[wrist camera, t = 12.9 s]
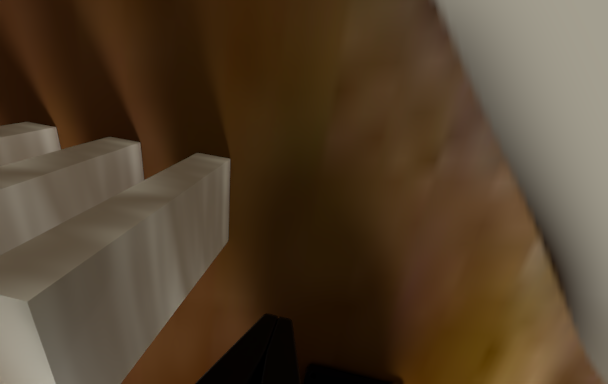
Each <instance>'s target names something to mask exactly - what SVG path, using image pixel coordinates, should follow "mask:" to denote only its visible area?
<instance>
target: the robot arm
mask: <svg viewBox="0 0 608 384" xmlns="http://www.w3.org/2000/svg"><path fill="white" fill-rule="evenodd" d="M195 384H301V381H300V374H299V367H298V360H297V353H296V346H295V339H294V332H293V325H292V320H291V319H288V318H284V317H279V318H278V317H277V316H276V315H272V314H264V315H263V316H262V317H261V318H260V319H259V320H258V321H257V322H256V323H255V324H254V325H253V326H252V327H251V328H250V329H249V330H248V331H247V332H246V333H245V334H244V335H243V336H242V337H241V338H240V339H239V340H238V341H237V342H236V343H235V344H234V345H233V346H232V347H231V348H230V349H229V350H228V351H227V352H226V353H225V354H224V355H223V356H222V357H221V358H220V359H219V360H218V361H217V362H216V363H215V364H214V365H213V366H212V367H211V368H210V369H209V370H208V371H207V372H206V373H205V374H204V375H203V376H202V377H201V378H200V379H199V380H198V381H197V382H196V383H195ZM304 384H387V383H383V382H379V381H375V380H371V379H367V378H363V377H359V376H355V375H351V374H347V373H343V372H339V371H335V370H331V369H327V368H323V367H319V366H315V365H310V366H308V367H307V369H306V374H305V379H304Z"/></svg>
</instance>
